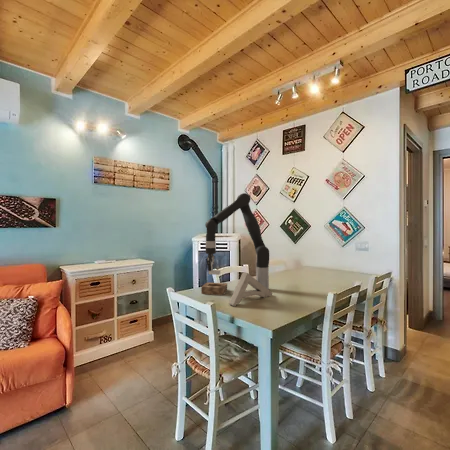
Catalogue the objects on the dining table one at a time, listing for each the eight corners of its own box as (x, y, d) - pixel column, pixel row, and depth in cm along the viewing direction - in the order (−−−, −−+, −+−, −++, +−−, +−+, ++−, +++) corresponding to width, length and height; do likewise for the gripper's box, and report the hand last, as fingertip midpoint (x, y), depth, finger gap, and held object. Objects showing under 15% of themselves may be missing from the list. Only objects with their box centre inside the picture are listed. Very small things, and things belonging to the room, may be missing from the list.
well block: (227, 289, 208) (227, 283, 207) (223, 294, 194) (223, 287, 194) (206, 288, 211) (206, 282, 211) (201, 293, 197) (201, 286, 197)
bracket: (208, 274, 201) (208, 260, 201) (210, 273, 205) (210, 259, 205) (219, 274, 199) (219, 261, 199) (220, 273, 203) (220, 260, 203)
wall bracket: (260, 323, 184) (233, 305, 167) (255, 321, 187) (228, 303, 170) (272, 293, 192) (247, 273, 175) (267, 291, 195) (243, 272, 178)
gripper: (213, 248, 195) (213, 272, 195) (217, 246, 209) (217, 268, 209) (202, 247, 196) (203, 271, 197) (208, 246, 210) (208, 268, 211)
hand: (210, 270), depth 203 cm, fingers closed on bracket, 4 cm apart
